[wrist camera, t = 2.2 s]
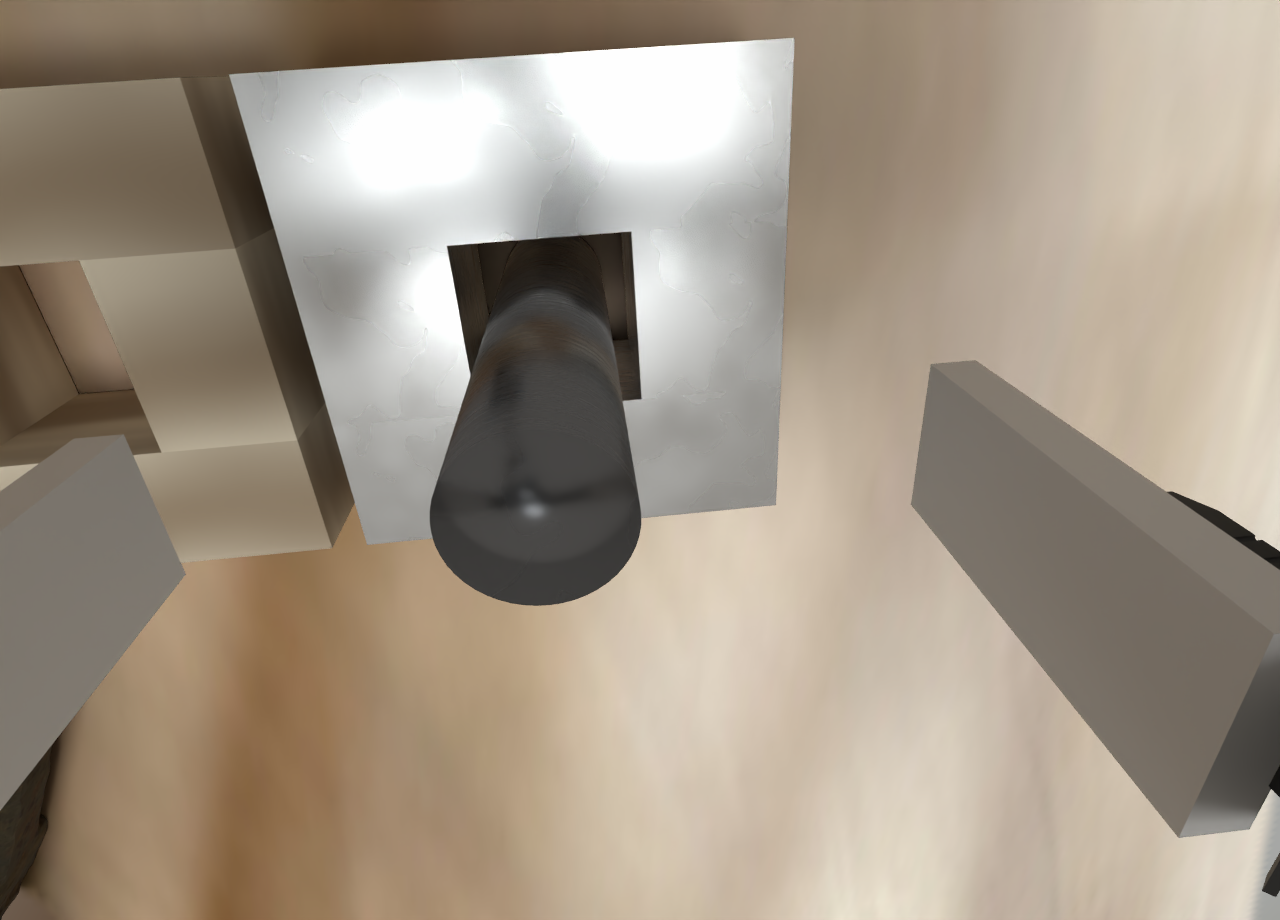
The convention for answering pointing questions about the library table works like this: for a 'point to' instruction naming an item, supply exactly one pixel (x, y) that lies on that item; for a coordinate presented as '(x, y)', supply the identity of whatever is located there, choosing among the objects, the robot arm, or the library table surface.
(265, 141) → the socket block
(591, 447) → the dark grey rounded rod
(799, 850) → the library table surface
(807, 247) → the library table surface
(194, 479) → the beige block with hole
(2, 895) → the hand tool
